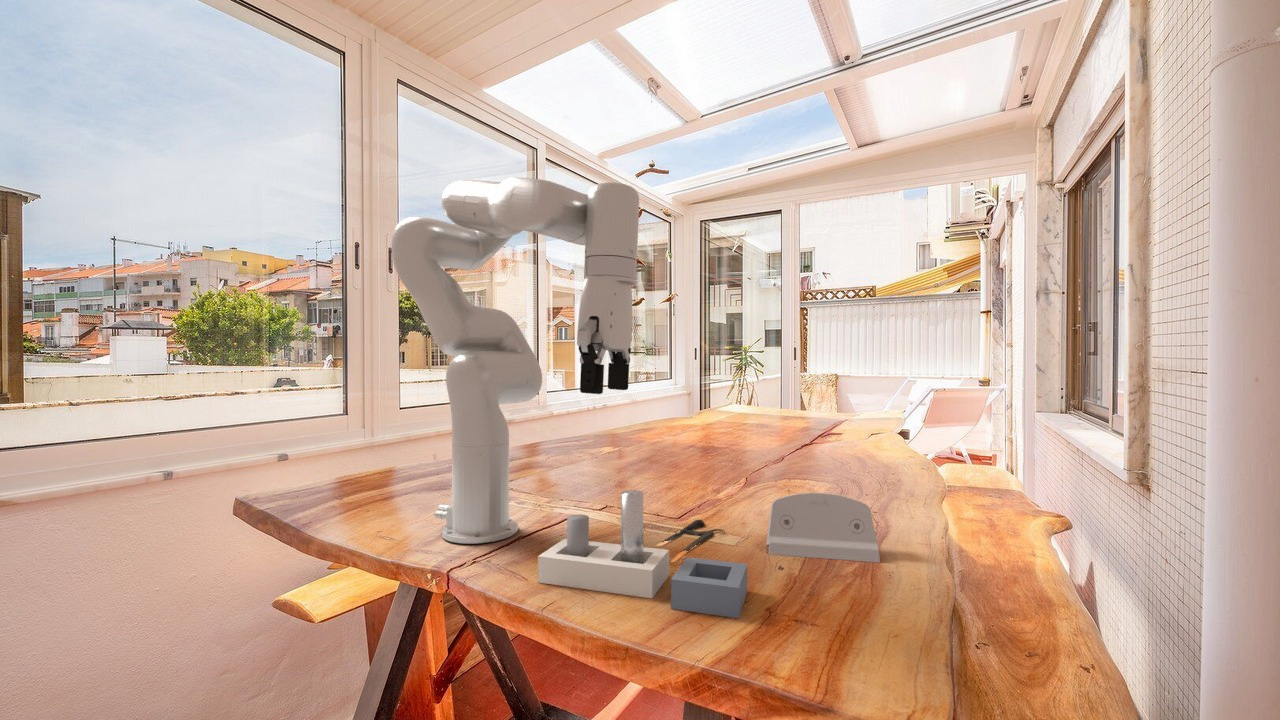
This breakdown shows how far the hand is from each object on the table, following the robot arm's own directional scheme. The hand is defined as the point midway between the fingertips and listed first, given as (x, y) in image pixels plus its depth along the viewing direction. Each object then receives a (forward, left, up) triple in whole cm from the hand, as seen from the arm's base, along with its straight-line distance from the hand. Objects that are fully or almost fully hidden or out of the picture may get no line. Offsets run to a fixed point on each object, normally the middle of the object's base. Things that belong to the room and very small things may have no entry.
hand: (605, 391), depth 79 cm
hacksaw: (+10, +13, -26) cm, 31 cm away
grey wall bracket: (+30, +18, -26) cm, 43 cm away
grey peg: (+5, -4, -25) cm, 26 cm away
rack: (+2, -4, -25) cm, 26 cm away
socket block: (+17, -6, -25) cm, 31 cm away
